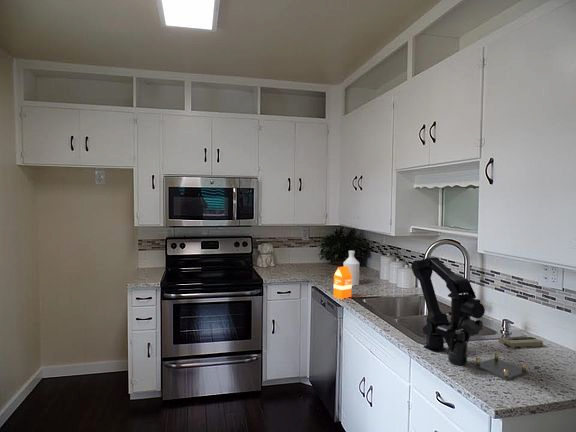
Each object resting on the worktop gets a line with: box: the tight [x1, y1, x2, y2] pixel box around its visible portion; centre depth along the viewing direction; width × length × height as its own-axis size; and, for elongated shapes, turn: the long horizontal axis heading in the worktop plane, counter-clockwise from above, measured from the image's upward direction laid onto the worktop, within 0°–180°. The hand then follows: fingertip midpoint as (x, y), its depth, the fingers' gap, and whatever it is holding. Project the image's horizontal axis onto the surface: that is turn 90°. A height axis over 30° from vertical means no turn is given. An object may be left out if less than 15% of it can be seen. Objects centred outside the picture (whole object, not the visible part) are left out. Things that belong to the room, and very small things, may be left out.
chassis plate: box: [473, 352, 529, 382], centre depth 145 cm, size 13×13×3 cm
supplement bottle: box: [447, 331, 468, 366], centre depth 152 cm, size 7×7×12 cm
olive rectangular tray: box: [498, 336, 544, 350], centre depth 171 cm, size 16×8×3 cm, turn 99°
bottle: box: [342, 250, 361, 287], centre depth 286 cm, size 12×12×25 cm
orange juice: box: [333, 266, 353, 300], centre depth 249 cm, size 8×9×20 cm
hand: (457, 349), depth 152 cm, fingers open, 7 cm apart
